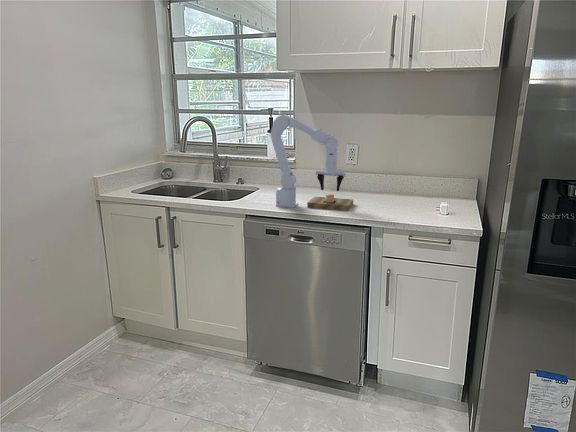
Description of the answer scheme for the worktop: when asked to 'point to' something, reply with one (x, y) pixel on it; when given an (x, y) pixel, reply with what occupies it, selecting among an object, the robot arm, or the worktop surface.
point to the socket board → (337, 205)
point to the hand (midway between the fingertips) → (330, 190)
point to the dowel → (329, 198)
